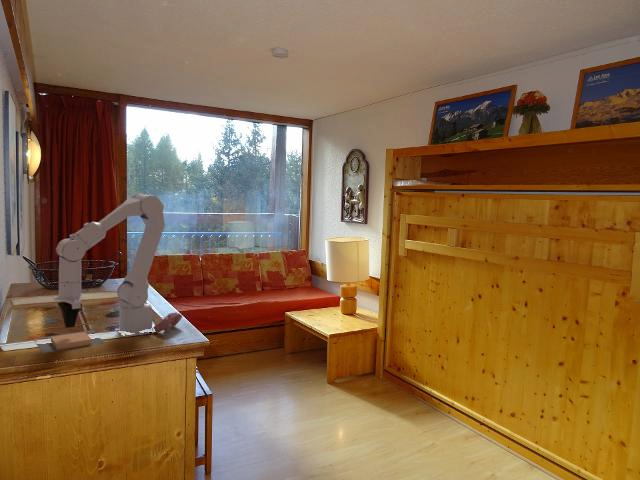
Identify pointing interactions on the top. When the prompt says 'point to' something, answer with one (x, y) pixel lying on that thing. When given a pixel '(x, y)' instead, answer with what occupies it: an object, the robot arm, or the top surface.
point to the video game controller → (168, 322)
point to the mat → (50, 348)
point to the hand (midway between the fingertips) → (69, 326)
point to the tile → (71, 340)
